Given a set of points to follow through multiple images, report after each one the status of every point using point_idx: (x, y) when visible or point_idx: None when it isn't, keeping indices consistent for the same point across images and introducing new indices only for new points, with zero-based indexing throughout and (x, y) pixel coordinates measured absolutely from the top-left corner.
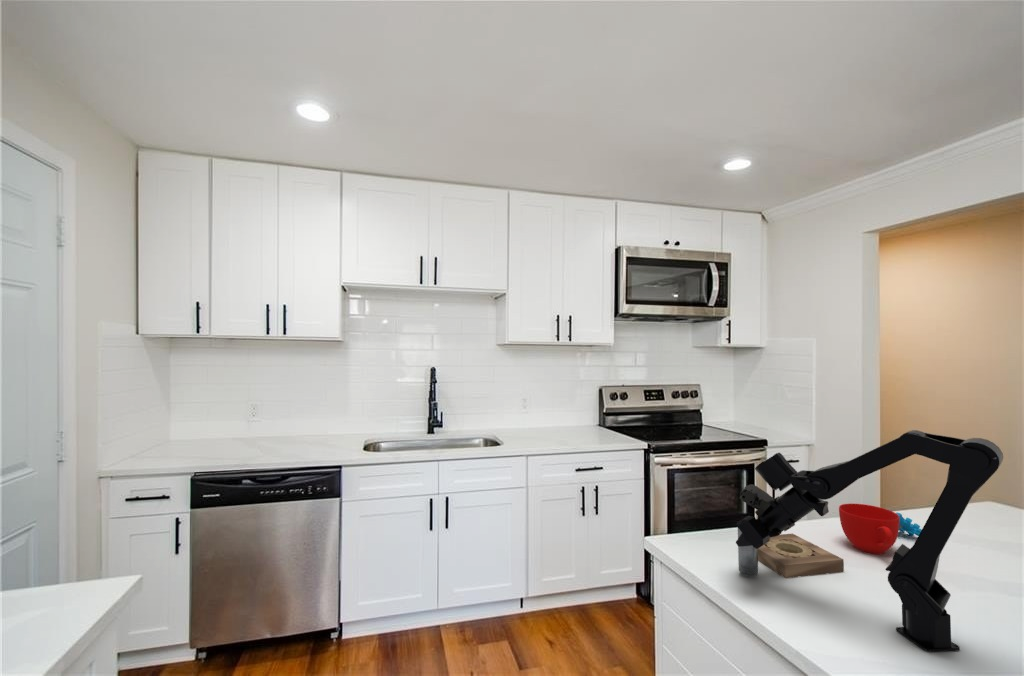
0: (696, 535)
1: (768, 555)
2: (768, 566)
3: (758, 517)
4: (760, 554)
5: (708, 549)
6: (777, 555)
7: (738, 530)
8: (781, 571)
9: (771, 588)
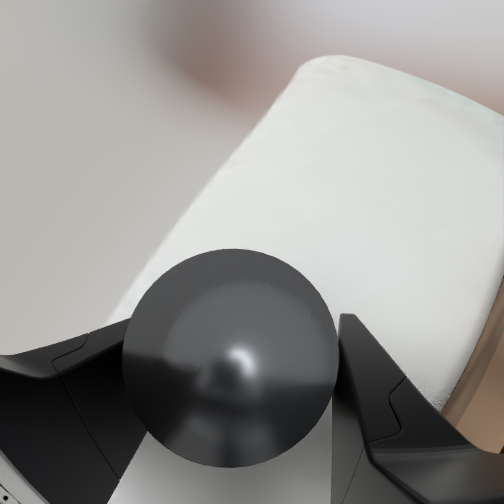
0: (466, 108)
1: (462, 414)
2: (442, 411)
3: (386, 501)
4: (483, 359)
5: (408, 167)
6: (485, 445)
7: (168, 281)
8: None
9: (231, 481)
